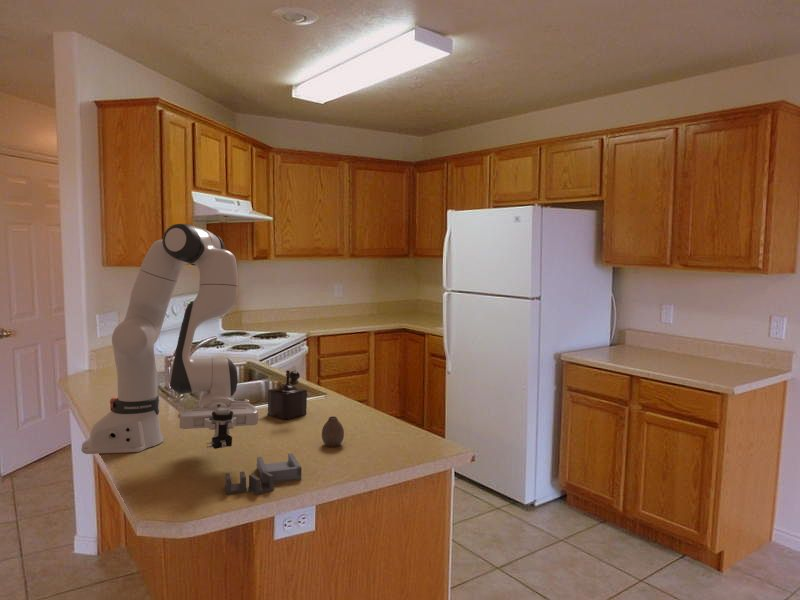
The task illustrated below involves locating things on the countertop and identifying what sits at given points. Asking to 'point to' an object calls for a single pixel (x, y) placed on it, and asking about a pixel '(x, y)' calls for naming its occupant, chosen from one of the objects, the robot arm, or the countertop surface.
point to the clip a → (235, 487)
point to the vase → (332, 432)
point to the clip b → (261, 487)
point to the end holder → (281, 469)
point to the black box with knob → (287, 399)
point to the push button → (221, 428)
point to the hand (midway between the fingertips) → (221, 426)
